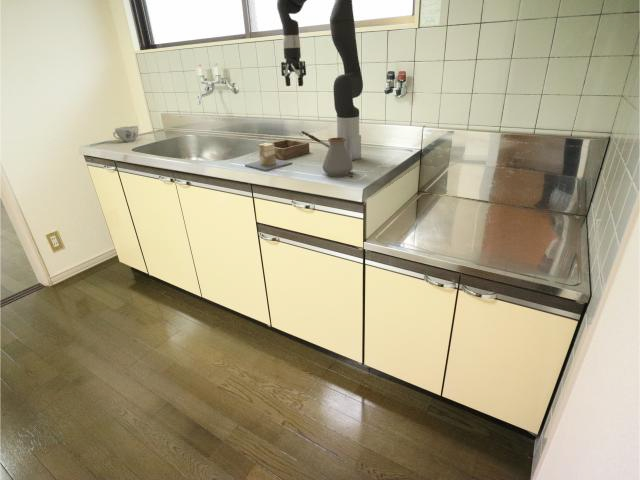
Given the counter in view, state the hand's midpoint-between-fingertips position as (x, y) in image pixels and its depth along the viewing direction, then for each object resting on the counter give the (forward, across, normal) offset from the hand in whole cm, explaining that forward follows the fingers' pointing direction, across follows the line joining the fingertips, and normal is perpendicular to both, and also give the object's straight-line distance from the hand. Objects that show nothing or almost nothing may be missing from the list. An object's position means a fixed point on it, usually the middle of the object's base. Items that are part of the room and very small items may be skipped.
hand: (294, 86), depth 177 cm
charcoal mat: (+28, -16, +32) cm, 45 cm away
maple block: (+28, -16, +32) cm, 45 cm away
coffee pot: (+28, -44, +26) cm, 58 cm away
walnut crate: (+28, -6, +14) cm, 32 cm away
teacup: (+29, +99, +45) cm, 113 cm away
